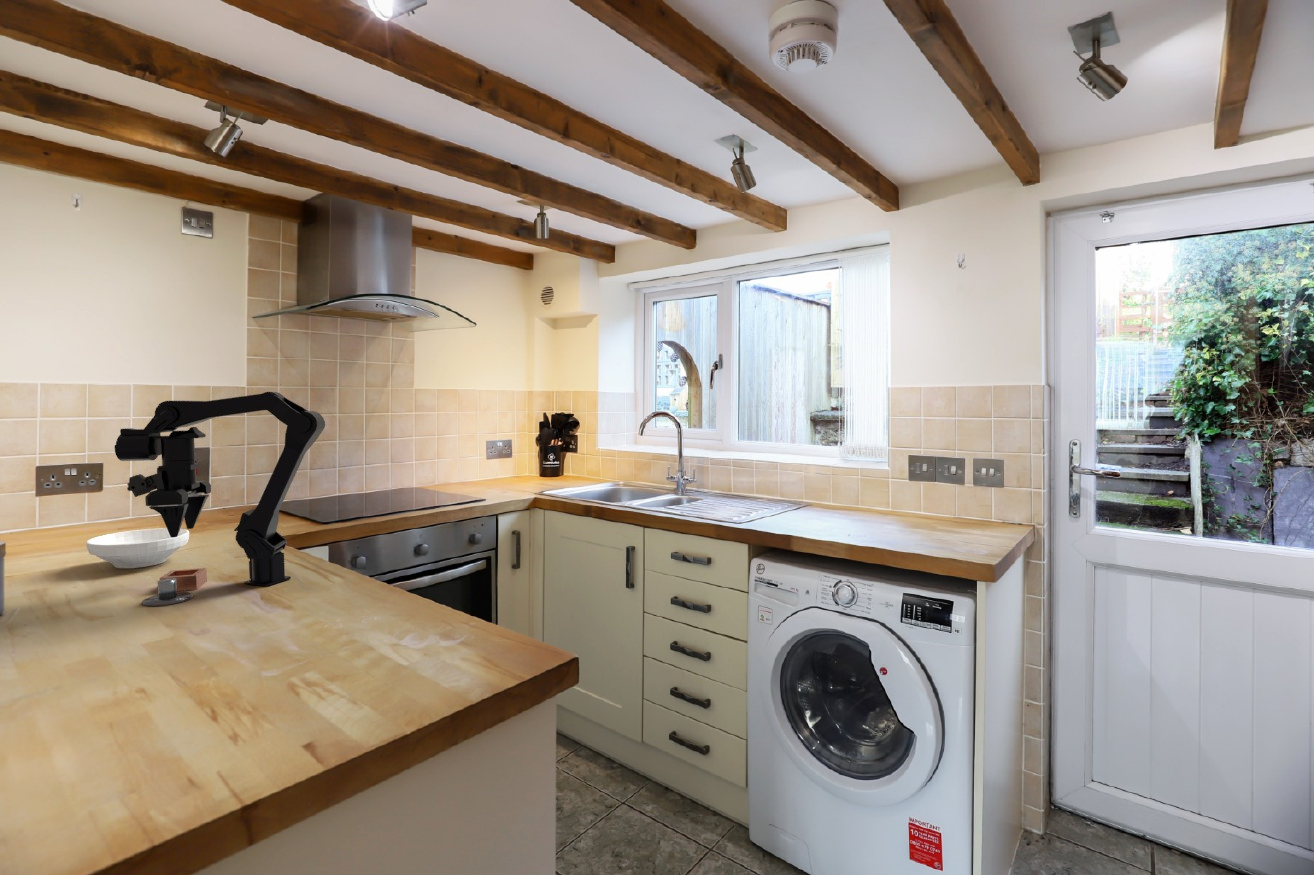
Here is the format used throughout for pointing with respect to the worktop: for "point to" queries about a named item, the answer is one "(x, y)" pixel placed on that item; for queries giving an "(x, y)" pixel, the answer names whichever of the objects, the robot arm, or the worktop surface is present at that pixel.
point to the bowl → (137, 547)
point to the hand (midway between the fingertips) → (182, 532)
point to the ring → (188, 578)
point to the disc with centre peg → (167, 594)
